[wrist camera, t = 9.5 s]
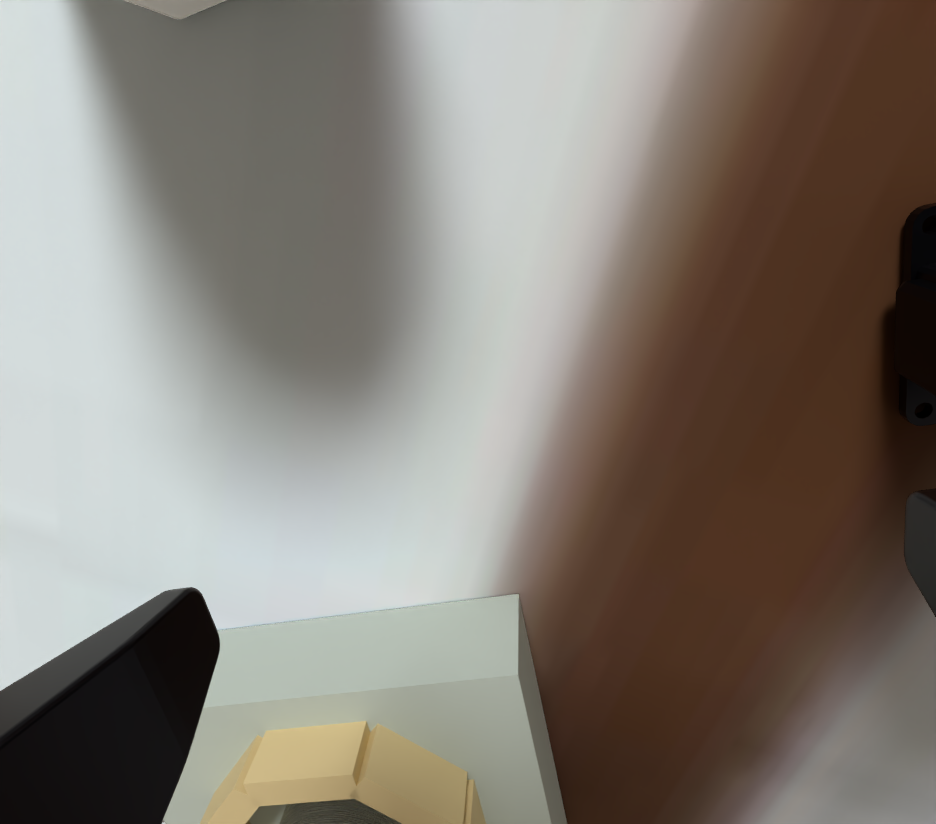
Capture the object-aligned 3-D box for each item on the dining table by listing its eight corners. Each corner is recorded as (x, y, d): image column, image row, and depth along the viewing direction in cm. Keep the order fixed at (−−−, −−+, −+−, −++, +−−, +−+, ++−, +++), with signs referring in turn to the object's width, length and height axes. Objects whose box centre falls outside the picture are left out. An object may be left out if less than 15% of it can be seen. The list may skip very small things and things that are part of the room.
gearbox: (518, 593, 24) (517, 727, 19) (566, 822, 29) (578, 987, 23) (100, 644, 27) (-11, 776, 21) (201, 849, 31) (132, 1003, 25)
